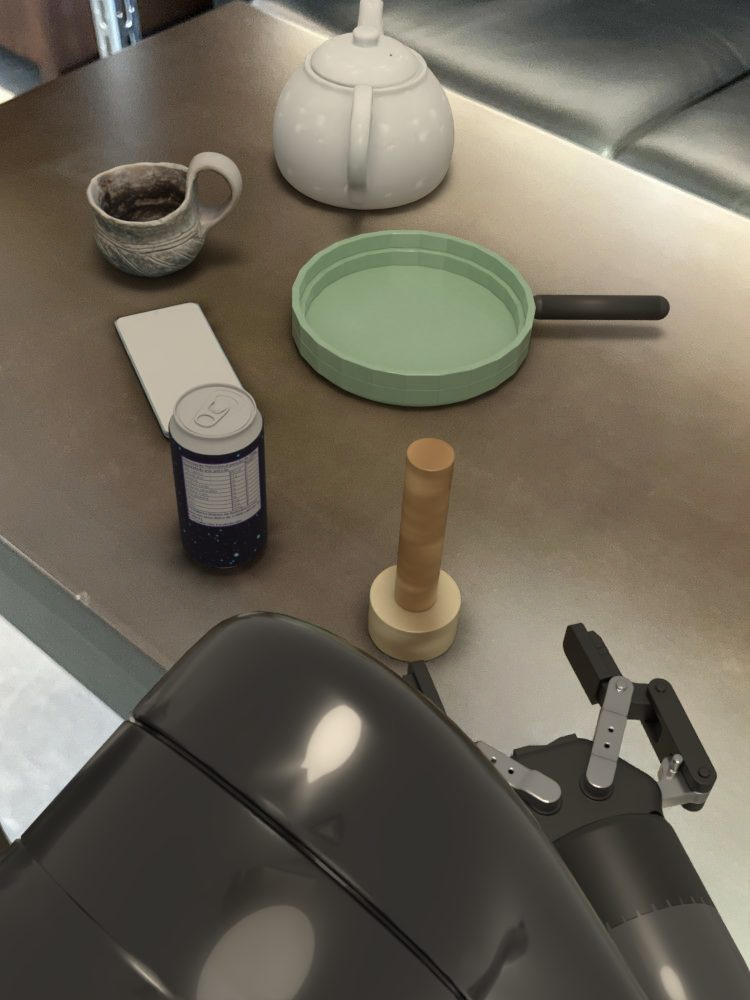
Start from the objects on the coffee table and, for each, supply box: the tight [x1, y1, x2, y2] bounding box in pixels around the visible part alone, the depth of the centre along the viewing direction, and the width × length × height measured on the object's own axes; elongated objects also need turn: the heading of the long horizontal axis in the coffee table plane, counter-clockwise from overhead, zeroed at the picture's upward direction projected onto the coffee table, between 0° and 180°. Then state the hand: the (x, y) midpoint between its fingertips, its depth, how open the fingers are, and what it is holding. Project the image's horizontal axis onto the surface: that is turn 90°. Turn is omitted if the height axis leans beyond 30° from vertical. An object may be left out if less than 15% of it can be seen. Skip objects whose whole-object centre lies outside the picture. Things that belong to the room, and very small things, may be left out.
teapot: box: [272, 0, 455, 211], centre depth 105 cm, size 19×18×14 cm
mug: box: [86, 151, 243, 278], centre depth 95 cm, size 10×12×10 cm
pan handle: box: [533, 293, 671, 321], centre depth 92 cm, size 12×2×2 cm, turn 93°
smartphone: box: [113, 301, 246, 439], centre depth 88 cm, size 7×1×15 cm
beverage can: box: [168, 383, 269, 569], centre depth 72 cm, size 6×6×12 cm
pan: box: [291, 229, 536, 408], centre depth 92 cm, size 19×19×4 cm
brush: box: [367, 437, 462, 663], centre depth 67 cm, size 6×6×15 cm
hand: (493, 651), depth 58 cm, fingers open, 8 cm apart
